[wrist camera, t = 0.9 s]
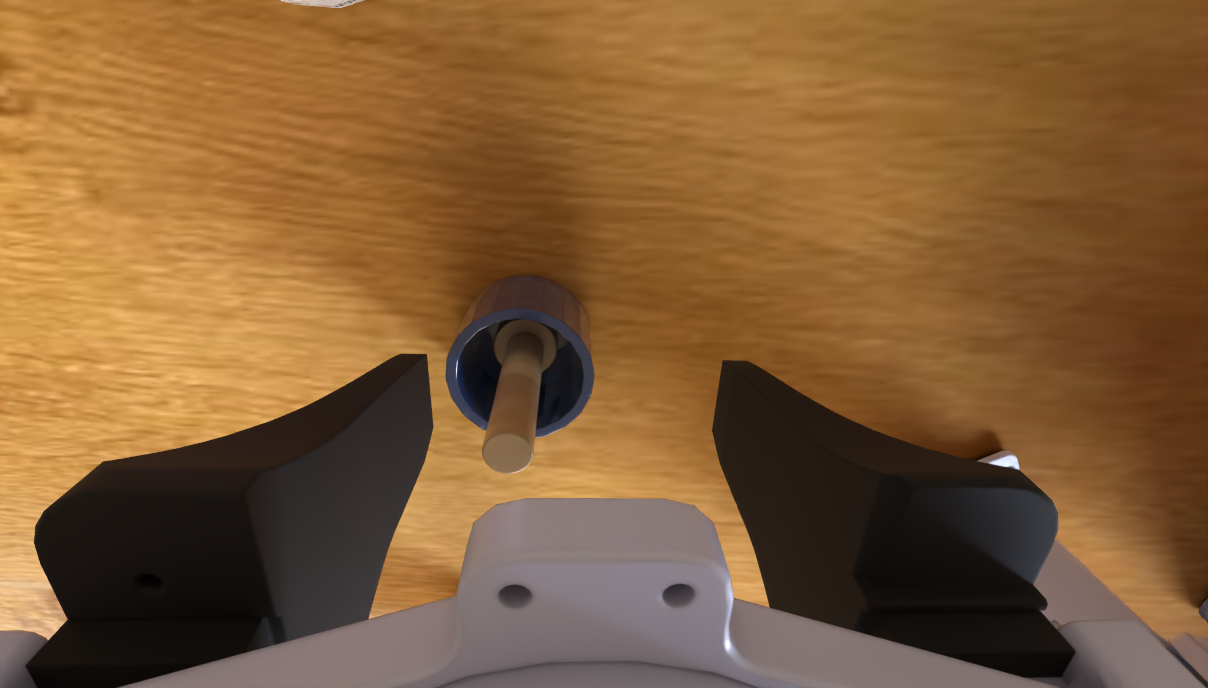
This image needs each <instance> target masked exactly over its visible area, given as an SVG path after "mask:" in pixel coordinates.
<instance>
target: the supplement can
mask: <svg viewBox="0 0 1208 688" xmlns="http://www.w3.org/2000/svg"><path fill="white" fill-rule="evenodd" d="M280 1H284V2H288V3H292V4H297V5H309V6H321V7H333V8H343V7H346V6H349V5H352V4H354V3H357V2H360V1H363V0H280Z"/></svg>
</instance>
